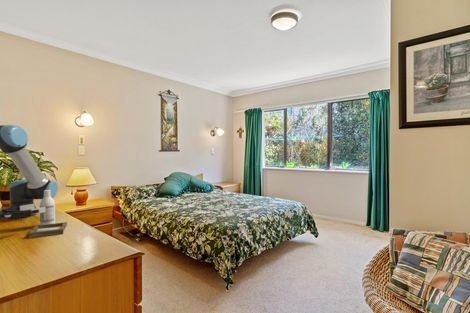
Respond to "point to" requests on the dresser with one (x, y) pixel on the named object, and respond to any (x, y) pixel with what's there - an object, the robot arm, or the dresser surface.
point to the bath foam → (47, 209)
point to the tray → (48, 230)
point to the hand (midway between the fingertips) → (39, 207)
